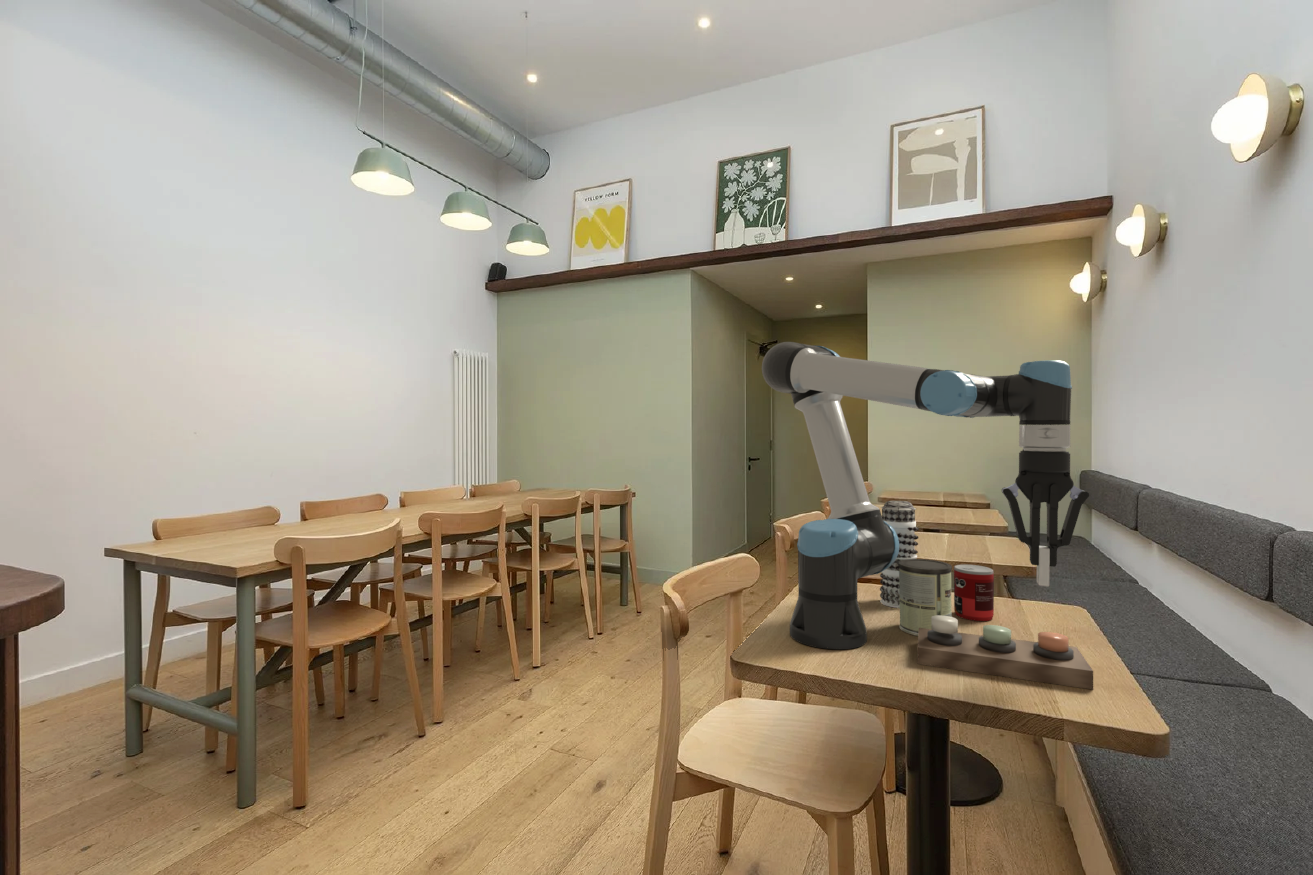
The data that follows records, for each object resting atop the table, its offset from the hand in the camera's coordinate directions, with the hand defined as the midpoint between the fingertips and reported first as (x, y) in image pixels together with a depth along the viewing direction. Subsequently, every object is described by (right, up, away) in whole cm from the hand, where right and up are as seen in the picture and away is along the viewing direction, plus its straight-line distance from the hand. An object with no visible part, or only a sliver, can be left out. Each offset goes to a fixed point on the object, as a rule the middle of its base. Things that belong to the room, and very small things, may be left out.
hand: (1042, 583), depth 103 cm
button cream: (-14, -10, +6) cm, 19 cm away
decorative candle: (-8, -15, +41) cm, 45 cm away
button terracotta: (+1, -11, -1) cm, 11 cm away
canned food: (+5, -15, +31) cm, 35 cm away
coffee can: (-11, -15, +22) cm, 29 cm away
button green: (-6, -11, +3) cm, 13 cm away
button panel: (-6, -15, +3) cm, 17 cm away
